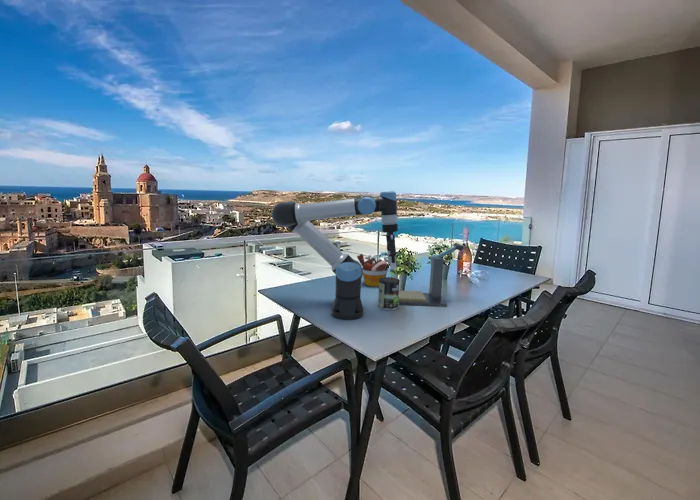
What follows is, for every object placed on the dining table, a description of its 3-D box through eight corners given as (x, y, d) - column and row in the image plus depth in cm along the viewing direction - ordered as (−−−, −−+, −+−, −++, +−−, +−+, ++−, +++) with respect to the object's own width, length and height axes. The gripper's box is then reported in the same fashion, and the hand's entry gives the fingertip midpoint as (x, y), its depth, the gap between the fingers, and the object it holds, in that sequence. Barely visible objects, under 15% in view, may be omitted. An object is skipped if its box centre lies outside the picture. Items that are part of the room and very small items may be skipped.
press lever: (434, 265, 171) (431, 258, 171) (431, 261, 179) (428, 255, 179) (464, 249, 169) (461, 243, 169) (460, 247, 177) (456, 241, 177)
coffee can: (402, 306, 162) (403, 279, 160) (391, 311, 154) (393, 283, 152) (384, 302, 169) (385, 276, 166) (373, 307, 160) (374, 279, 158)
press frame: (399, 305, 164) (401, 260, 160) (395, 294, 182) (397, 253, 178) (446, 306, 164) (449, 261, 160) (438, 295, 181) (441, 255, 177)
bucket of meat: (384, 280, 211) (385, 251, 208) (392, 287, 195) (394, 255, 192) (354, 281, 207) (355, 251, 204) (360, 289, 191) (361, 256, 188)
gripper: (400, 225, 142) (403, 271, 146) (394, 221, 167) (396, 261, 170) (384, 226, 143) (386, 272, 146) (380, 222, 167) (382, 261, 171)
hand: (392, 266), depth 158 cm, fingers open, 13 cm apart
